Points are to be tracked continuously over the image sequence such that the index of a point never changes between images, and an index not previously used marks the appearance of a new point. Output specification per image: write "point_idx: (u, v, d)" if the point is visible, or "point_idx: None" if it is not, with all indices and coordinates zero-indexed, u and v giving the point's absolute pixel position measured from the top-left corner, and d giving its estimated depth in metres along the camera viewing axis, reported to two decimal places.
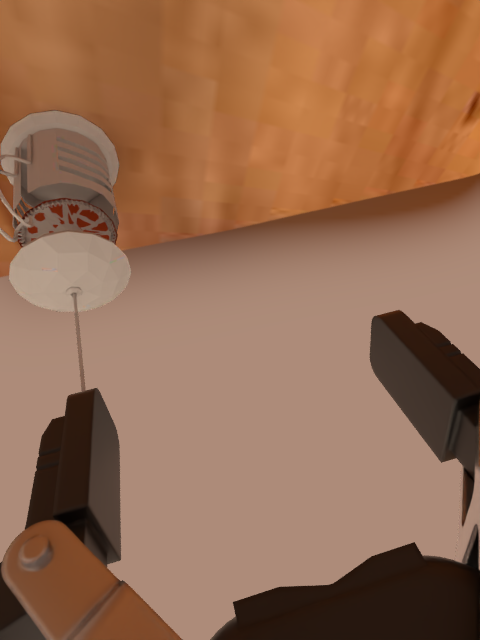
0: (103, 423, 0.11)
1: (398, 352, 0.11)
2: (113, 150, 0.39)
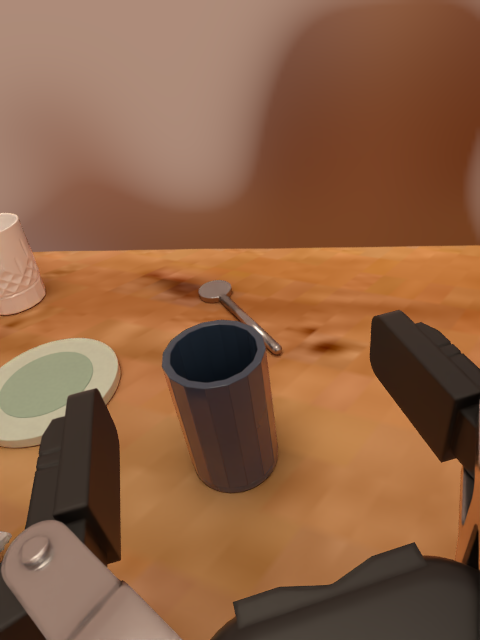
0: (103, 423, 0.11)
1: (398, 352, 0.11)
2: None
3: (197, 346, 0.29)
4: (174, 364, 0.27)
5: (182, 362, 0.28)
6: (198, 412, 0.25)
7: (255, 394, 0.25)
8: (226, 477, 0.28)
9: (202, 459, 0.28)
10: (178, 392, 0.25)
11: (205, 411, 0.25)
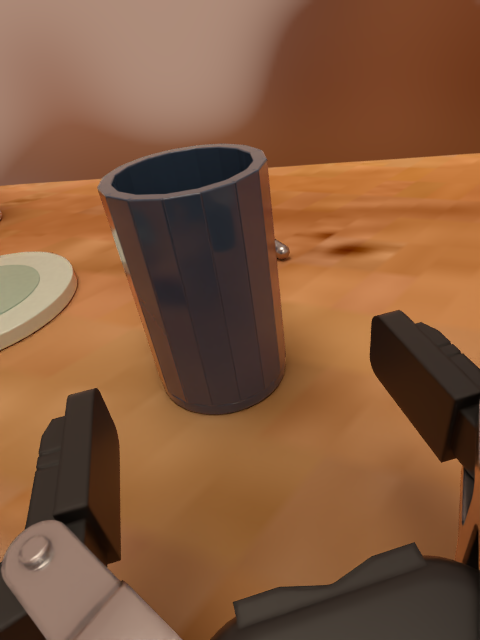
0: (103, 423, 0.11)
1: (398, 352, 0.11)
2: None
3: (163, 187, 0.19)
4: None
5: None
6: (155, 256, 0.15)
7: (250, 229, 0.15)
8: (207, 386, 0.18)
9: (169, 356, 0.18)
10: (121, 221, 0.15)
11: (166, 252, 0.15)
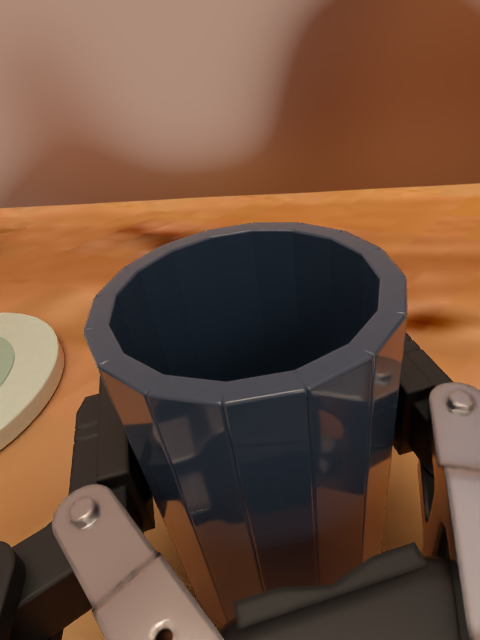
0: None
1: None
2: None
3: (195, 290, 0.11)
4: (130, 331, 0.10)
5: (155, 330, 0.11)
6: (196, 480, 0.08)
7: (379, 419, 0.08)
8: None
9: (208, 585, 0.11)
10: (130, 414, 0.07)
11: (220, 478, 0.07)
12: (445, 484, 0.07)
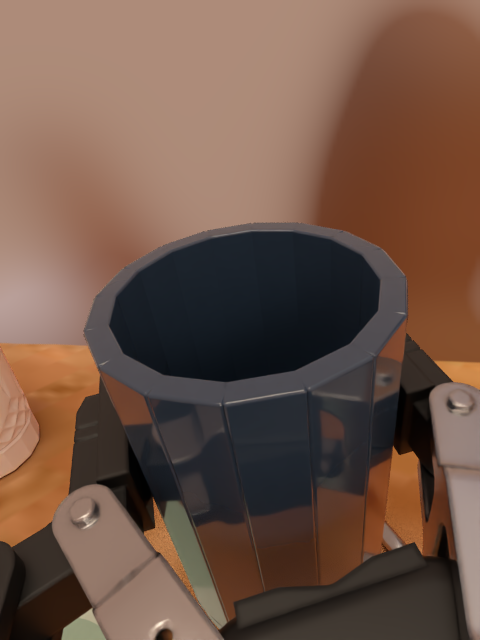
0: None
1: None
2: None
3: (195, 290, 0.11)
4: (130, 332, 0.10)
5: (155, 330, 0.11)
6: (197, 480, 0.08)
7: (380, 420, 0.08)
8: None
9: (208, 586, 0.11)
10: (130, 415, 0.07)
11: (220, 479, 0.07)
12: (445, 484, 0.07)
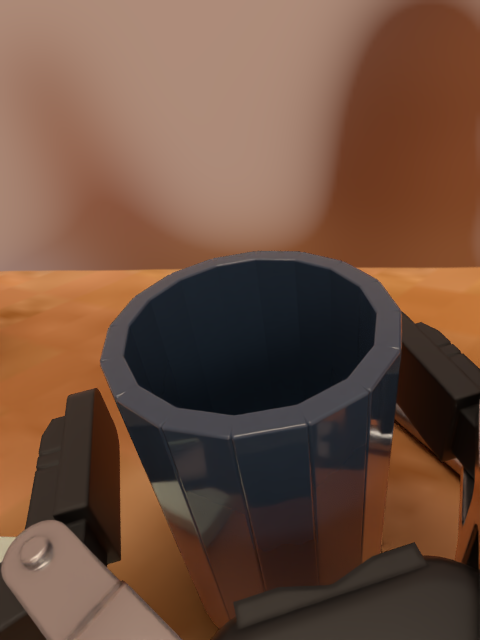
0: (103, 423, 0.11)
1: None
2: None
3: (202, 315, 0.12)
4: (141, 358, 0.10)
5: (165, 354, 0.11)
6: (206, 502, 0.08)
7: (376, 445, 0.08)
8: None
9: (215, 596, 0.11)
10: (144, 442, 0.08)
11: (228, 502, 0.08)
12: None
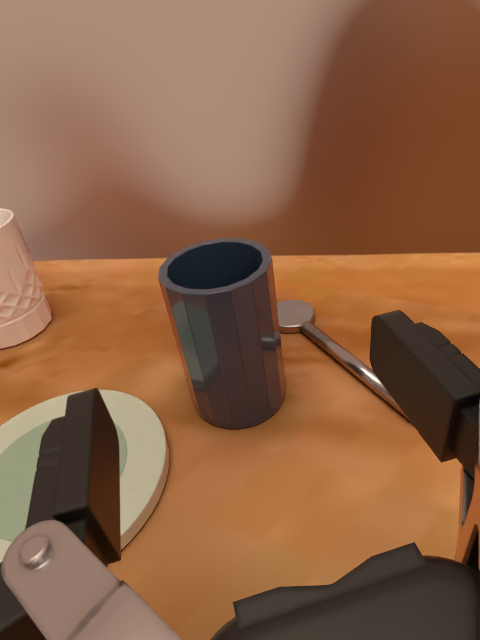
0: (103, 423, 0.11)
1: (398, 352, 0.11)
2: None
3: (197, 267, 0.26)
4: (172, 281, 0.25)
5: (181, 283, 0.26)
6: (198, 326, 0.23)
7: (260, 307, 0.23)
8: (229, 409, 0.26)
9: (203, 388, 0.26)
10: (176, 304, 0.22)
11: (205, 324, 0.22)
12: None
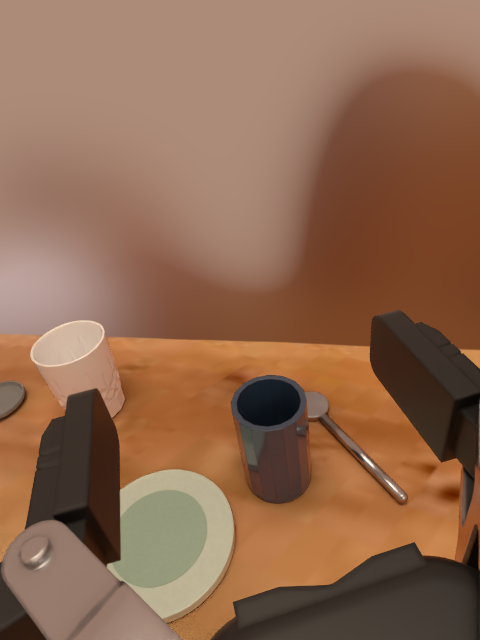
0: (103, 423, 0.11)
1: (398, 353, 0.11)
2: None
3: (253, 394, 0.39)
4: (238, 409, 0.37)
5: (242, 407, 0.38)
6: (259, 446, 0.35)
7: (299, 433, 0.35)
8: (275, 492, 0.38)
9: (257, 478, 0.38)
10: (245, 432, 0.35)
11: (264, 446, 0.35)
12: None
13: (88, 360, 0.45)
